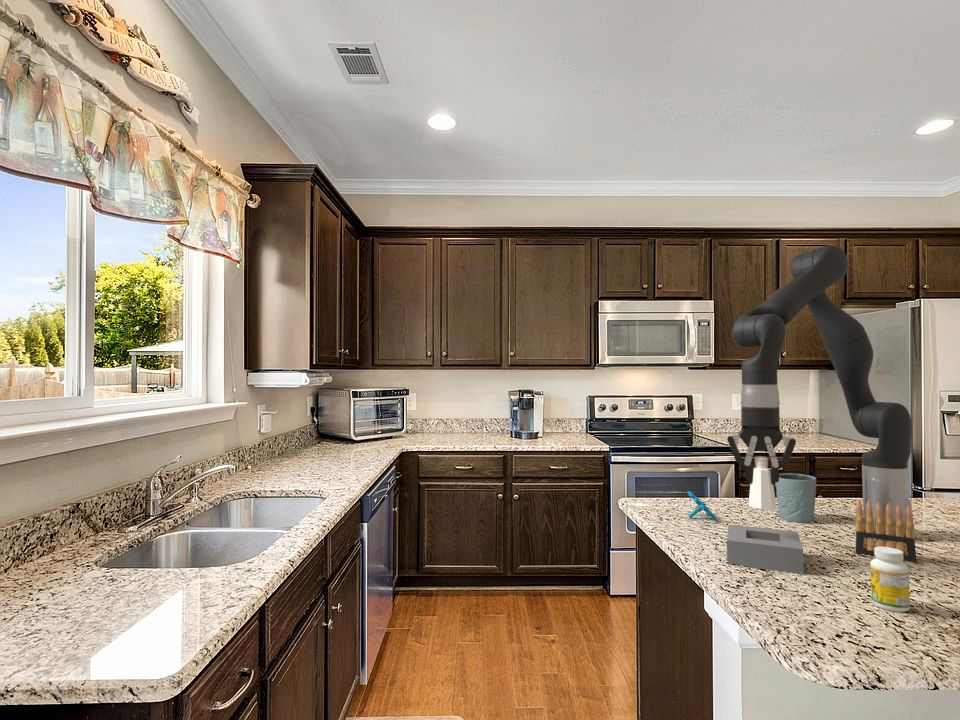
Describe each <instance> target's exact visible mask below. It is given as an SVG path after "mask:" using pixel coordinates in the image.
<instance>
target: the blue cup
mask: <svg viewBox="0 0 960 720" xmlns="http://www.w3.org/2000/svg"><path fill="white" fill-rule="evenodd" d="M816 487H817V477H815V476H813V475H808V474H803V473H802V474H801V473H788V472H787V473H783V472H782V473H779V481H778V482H775V488H776V499H777V501H776V502H777V508H778V509H777V511H778V518H779V519H780V518H781V519H780V520H782V519H783V520H782V521H784V520H786V521H785V522H788V521H790V522H789V523H793V522H796V523H795V524H812V523H811V522H813V523H814V522H815V516H816V515H815V507H816Z"/></svg>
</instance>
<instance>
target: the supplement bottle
mask: <svg viewBox="0 0 960 720" xmlns="http://www.w3.org/2000/svg"><path fill="white" fill-rule="evenodd" d="M874 555H875V556H876V557H875V558H873V559H871V561H870V562H869V568H870V569H869V570H870V595H871V596H870V597H871V603H872V604H873V605H874V606H876V607H877V608H879V609H883V610H885V611H891V612H896V613H906V612H908V611H909V610H910V609H911V595H910V594H911V593H910V569H909V567H908V565H906V564H905V563H904V561H903V559H904V558H903V552H902V551H901V550H898V549H895V548H890V547H875V548H874Z"/></svg>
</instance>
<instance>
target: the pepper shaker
mask: <svg viewBox="0 0 960 720" xmlns="http://www.w3.org/2000/svg"><path fill="white" fill-rule="evenodd" d="M769 458H770V457H768V456H765V455H763V456H762V455H756V456H755V455H754V457H753V459H754V466H752V483H750V484H749V485H750V487H749V499H748V506H749V507H750V508H752V509H757V510H760V511H762V510H765V511H772V510H776V509H777V503H776V502H777V501H776V495H775V488H774V486H775V485H772V472H771V467H770V468H769Z"/></svg>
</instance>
